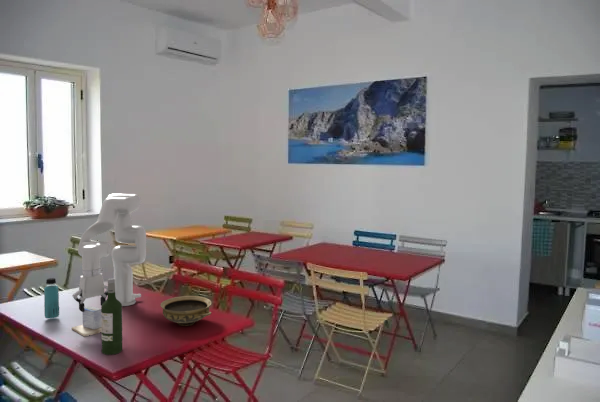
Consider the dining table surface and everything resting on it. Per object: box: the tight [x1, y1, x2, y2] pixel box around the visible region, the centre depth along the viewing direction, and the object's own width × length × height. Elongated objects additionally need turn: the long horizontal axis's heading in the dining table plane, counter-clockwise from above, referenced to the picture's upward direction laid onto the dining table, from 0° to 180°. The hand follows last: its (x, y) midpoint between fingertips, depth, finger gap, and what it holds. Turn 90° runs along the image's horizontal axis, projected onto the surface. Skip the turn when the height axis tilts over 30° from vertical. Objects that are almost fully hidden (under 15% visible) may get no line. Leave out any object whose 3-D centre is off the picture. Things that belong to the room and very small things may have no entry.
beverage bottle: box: [43, 277, 60, 319], centre depth 233 cm, size 6×7×20 cm
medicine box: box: [82, 306, 101, 330], centre depth 221 cm, size 8×4×9 cm, turn 62°
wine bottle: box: [100, 277, 123, 356], centre depth 195 cm, size 8×8×30 cm
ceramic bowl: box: [159, 295, 212, 327], centre depth 232 cm, size 30×24×10 cm
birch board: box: [71, 324, 102, 338], centre depth 221 cm, size 13×13×1 cm
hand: (92, 308), depth 221 cm, fingers open, 9 cm apart
